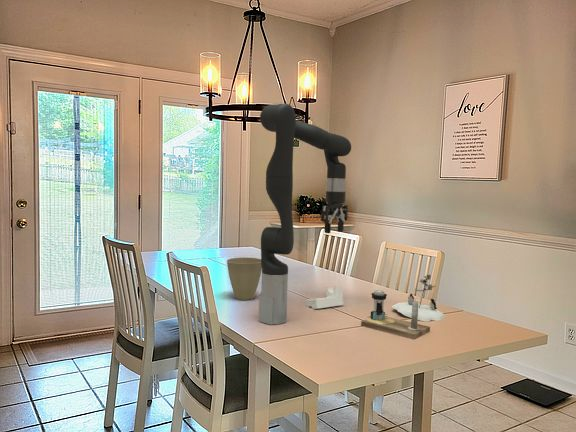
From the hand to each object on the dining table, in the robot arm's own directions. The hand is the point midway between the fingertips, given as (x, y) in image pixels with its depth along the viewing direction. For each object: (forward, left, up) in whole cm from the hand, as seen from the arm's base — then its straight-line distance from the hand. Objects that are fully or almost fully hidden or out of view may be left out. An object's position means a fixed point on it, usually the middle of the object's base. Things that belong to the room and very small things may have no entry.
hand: (334, 232), depth 193 cm
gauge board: (-4, -30, -30) cm, 43 cm away
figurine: (+19, -27, -31) cm, 45 cm away
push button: (-3, -23, -29) cm, 37 cm away
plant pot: (-13, +35, -30) cm, 48 cm away
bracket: (+2, +5, -30) cm, 31 cm away
